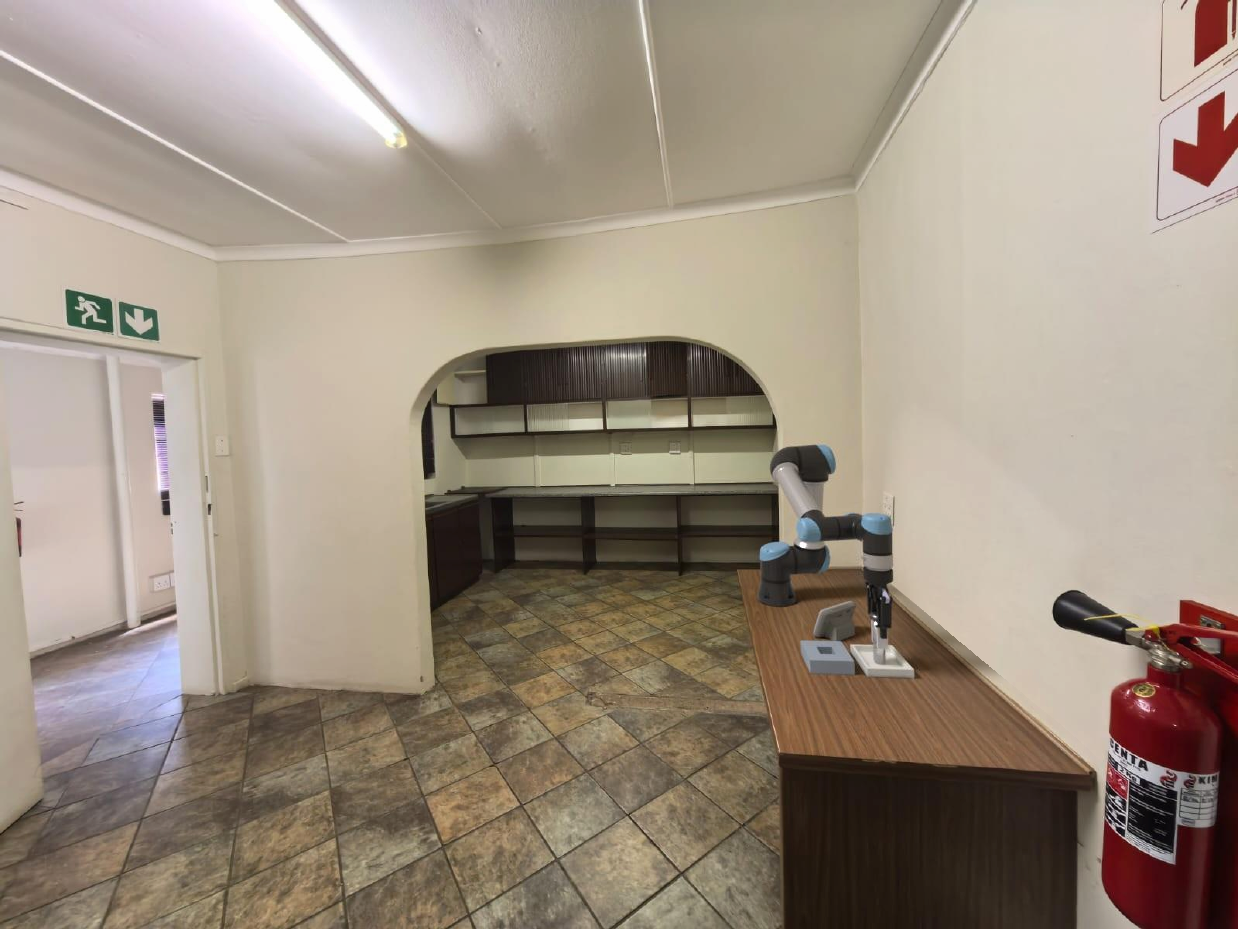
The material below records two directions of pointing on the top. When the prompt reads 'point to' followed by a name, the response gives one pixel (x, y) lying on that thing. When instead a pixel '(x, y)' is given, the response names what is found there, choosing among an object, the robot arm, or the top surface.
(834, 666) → the socket block
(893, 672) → the tray
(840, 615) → the digital clock
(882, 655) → the pin
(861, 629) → the top surface
